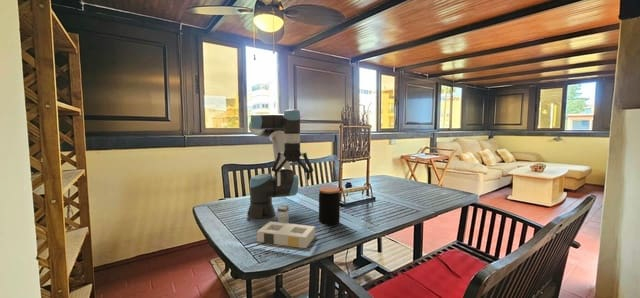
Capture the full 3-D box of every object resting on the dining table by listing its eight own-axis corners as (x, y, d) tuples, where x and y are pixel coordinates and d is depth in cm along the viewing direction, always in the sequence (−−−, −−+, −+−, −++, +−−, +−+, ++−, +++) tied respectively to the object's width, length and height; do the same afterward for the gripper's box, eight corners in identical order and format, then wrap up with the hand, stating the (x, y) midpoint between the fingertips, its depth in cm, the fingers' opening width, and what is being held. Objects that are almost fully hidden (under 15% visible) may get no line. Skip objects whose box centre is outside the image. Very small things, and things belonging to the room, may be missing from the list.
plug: (277, 227, 132) (277, 207, 131) (281, 224, 136) (281, 205, 135) (285, 228, 131) (285, 208, 130) (289, 225, 135) (288, 205, 134)
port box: (257, 245, 117) (256, 231, 117) (270, 233, 129) (270, 221, 128) (305, 252, 111) (305, 237, 110) (315, 239, 123) (315, 226, 122)
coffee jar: (327, 217, 150) (327, 185, 148) (343, 222, 143) (343, 188, 141) (314, 223, 142) (314, 189, 140) (331, 228, 135) (331, 192, 133)
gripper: (264, 142, 129) (265, 186, 132) (317, 143, 126) (316, 188, 129) (269, 141, 137) (270, 183, 139) (319, 142, 133) (319, 184, 136)
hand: (292, 185), depth 134 cm, fingers open, 13 cm apart
